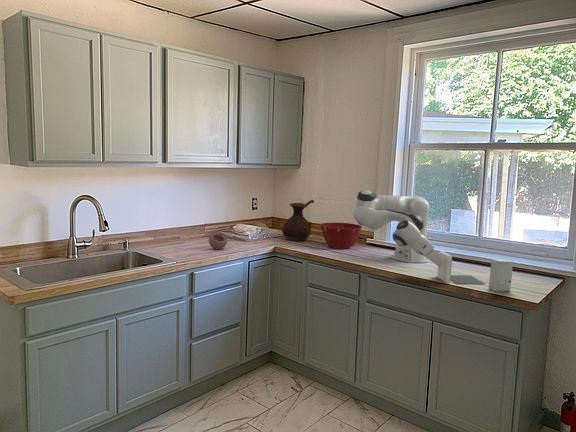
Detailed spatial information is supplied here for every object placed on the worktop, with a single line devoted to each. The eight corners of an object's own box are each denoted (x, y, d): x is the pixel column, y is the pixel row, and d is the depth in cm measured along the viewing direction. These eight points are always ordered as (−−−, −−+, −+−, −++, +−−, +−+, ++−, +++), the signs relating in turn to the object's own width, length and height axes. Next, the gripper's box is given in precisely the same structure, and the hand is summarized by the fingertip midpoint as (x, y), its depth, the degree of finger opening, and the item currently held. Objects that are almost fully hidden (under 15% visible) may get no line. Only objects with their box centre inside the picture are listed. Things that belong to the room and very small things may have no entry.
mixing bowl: (340, 241, 338) (341, 221, 336) (369, 248, 316) (370, 226, 314) (311, 245, 321) (312, 223, 319) (339, 253, 299) (340, 229, 297)
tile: (446, 282, 234) (448, 256, 233) (437, 276, 246) (439, 251, 244) (450, 283, 235) (452, 256, 233) (441, 276, 246) (443, 251, 245)
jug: (296, 243, 327) (297, 201, 323) (276, 238, 342) (277, 198, 338) (317, 240, 341) (318, 200, 337) (297, 236, 357) (298, 197, 353)
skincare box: (495, 291, 221) (498, 261, 219) (487, 288, 227) (490, 258, 225) (511, 291, 223) (513, 261, 221) (503, 287, 229) (505, 258, 227)
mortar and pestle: (217, 251, 292) (217, 234, 290) (204, 249, 299) (204, 231, 297) (231, 249, 301) (231, 231, 300) (218, 246, 308) (218, 229, 307)
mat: (456, 284, 233) (456, 283, 233) (443, 275, 249) (443, 275, 248) (485, 284, 234) (485, 283, 234) (471, 276, 249) (471, 275, 249)
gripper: (410, 246, 248) (427, 264, 249) (424, 254, 227) (442, 274, 229) (419, 238, 247) (436, 256, 249) (433, 245, 227) (451, 265, 229)
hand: (439, 265), depth 239 cm, fingers closed
